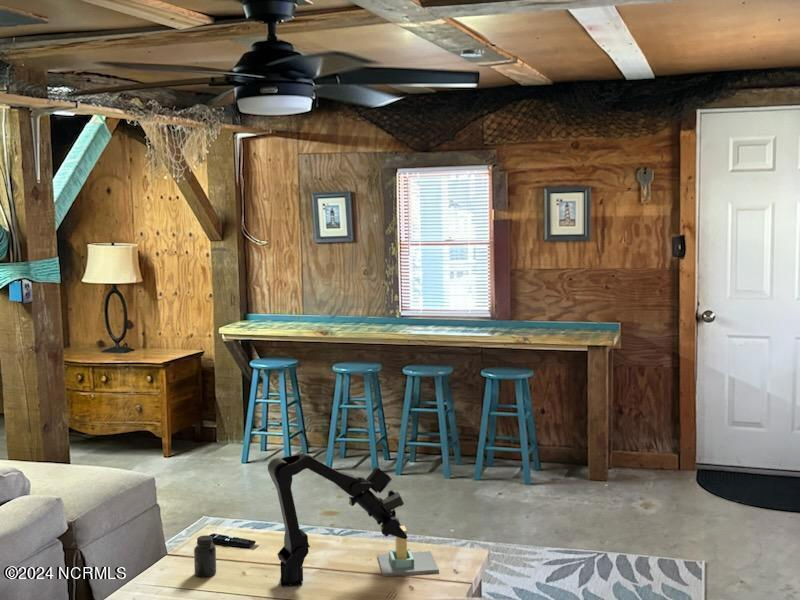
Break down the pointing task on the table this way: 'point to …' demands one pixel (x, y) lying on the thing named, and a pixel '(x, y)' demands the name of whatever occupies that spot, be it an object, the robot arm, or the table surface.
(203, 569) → the supplement bottle
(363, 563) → the table surface
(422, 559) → the plate
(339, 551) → the table surface
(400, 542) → the block
